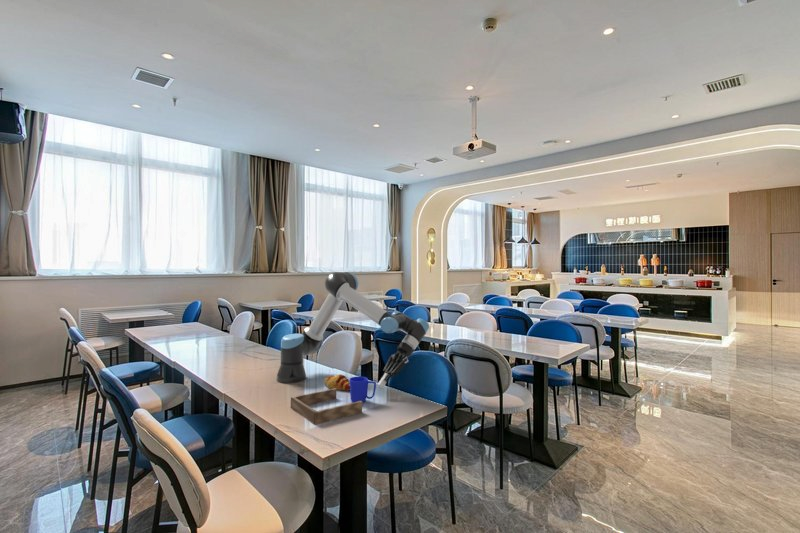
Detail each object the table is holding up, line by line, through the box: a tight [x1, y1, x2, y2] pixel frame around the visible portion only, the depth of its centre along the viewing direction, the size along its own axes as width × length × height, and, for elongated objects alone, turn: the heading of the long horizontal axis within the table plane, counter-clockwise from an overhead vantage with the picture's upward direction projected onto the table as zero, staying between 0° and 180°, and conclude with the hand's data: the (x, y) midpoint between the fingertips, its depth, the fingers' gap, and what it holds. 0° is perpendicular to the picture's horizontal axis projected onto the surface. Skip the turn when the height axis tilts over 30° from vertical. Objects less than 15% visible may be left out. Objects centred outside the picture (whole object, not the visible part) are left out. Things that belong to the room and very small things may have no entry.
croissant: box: [324, 374, 350, 391], centre depth 191 cm, size 21×10×8 cm, turn 48°
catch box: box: [290, 388, 363, 425], centre depth 158 cm, size 21×22×4 cm
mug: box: [349, 376, 377, 403], centre depth 170 cm, size 8×12×10 cm
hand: (379, 386), depth 175 cm, fingers closed
